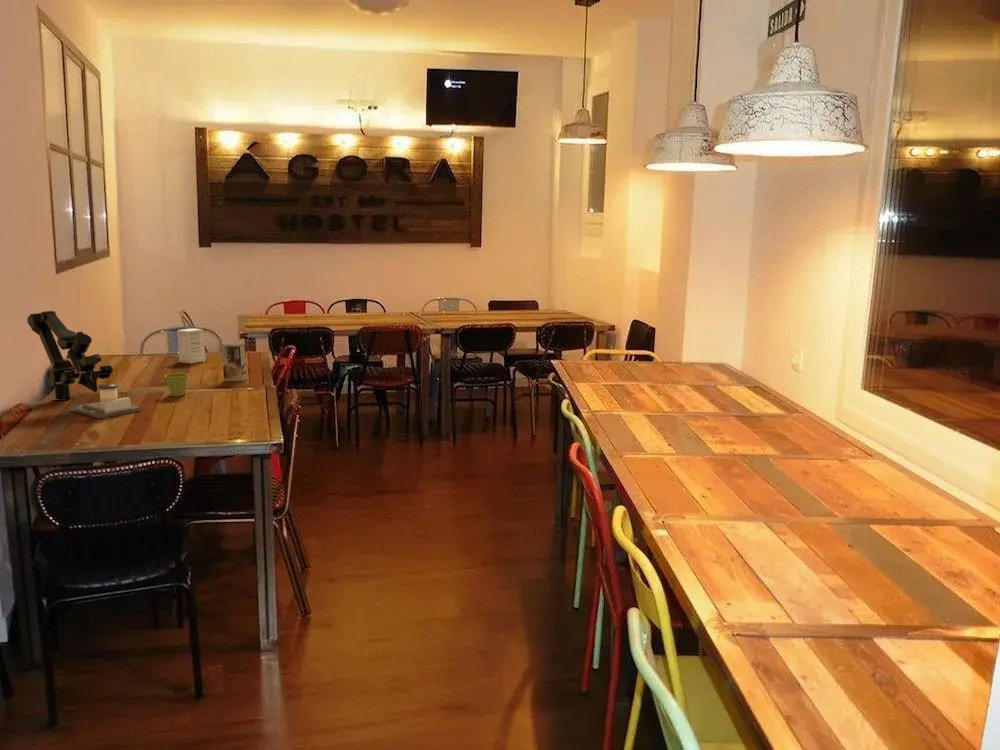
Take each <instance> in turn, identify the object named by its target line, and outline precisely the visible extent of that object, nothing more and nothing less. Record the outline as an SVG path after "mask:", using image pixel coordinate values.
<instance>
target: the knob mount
mask: <svg viewBox="0 0 1000 750" xmlns="http://www.w3.org/2000/svg"><path fill="white" fill-rule="evenodd" d="M71 410H73V411H76V412H75V413H77V412H79V413H78V414H80V413H82V414H81V415H84V414H85V415H84V416H87V415H89V416H88V417H90V416H92V417H91V418H94V417H96V418H95V419H97V418H99V419H98V420H101V419H100V418H103V419H106V418H105V417H108V418H111V417H110V416H113V417H116V416H115V415H119V416H122V415H121V414H124V415H127V414H126V413H129V414H132V413H131V412H134V413H138V412H137V411H139V412H141V407H140V406H136V405H133V404H131V398H130V397H121V398H118V399H114V400H108V401H102V402H101V401H98V402H92V403H91V402H90V403H81V405H80V404H79V405H74V406H70V411H71ZM73 411H72V412H73Z"/></svg>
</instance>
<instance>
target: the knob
mask: <svg viewBox="0 0 1000 750" xmlns="http://www.w3.org/2000/svg"><path fill="white" fill-rule="evenodd" d="M118 387H119V385H118V384H117V383H104V384H103V383H102V384H99V385H97V390H99V397H100V402H102V401H108V400H114V399H119V398H118Z"/></svg>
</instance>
